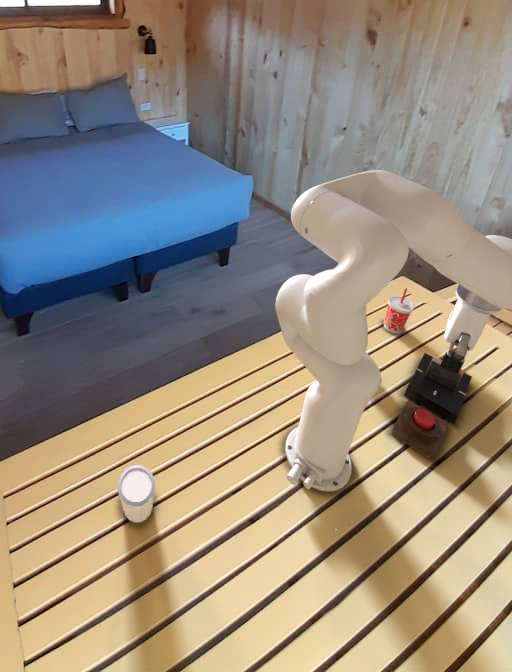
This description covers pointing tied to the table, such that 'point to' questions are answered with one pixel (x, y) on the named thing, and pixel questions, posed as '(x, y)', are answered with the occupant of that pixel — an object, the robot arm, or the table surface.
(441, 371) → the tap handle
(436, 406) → the black lever switch base
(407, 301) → the beverage cup
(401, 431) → the button block
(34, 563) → the table surface
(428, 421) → the button
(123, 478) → the white lidded tub
